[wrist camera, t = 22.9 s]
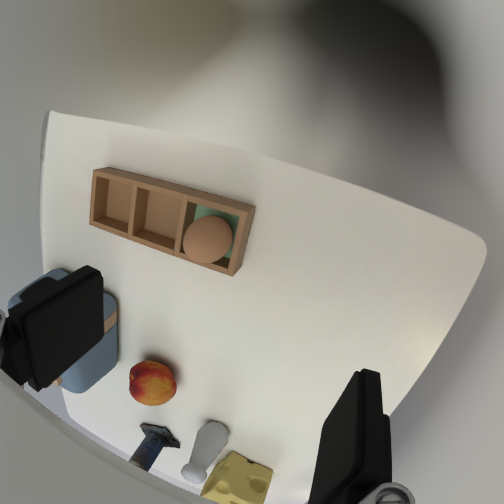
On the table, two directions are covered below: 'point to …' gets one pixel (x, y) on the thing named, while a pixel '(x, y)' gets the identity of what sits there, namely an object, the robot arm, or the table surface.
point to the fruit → (152, 383)
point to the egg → (207, 239)
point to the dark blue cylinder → (152, 446)
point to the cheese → (237, 481)
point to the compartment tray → (164, 214)
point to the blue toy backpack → (95, 359)
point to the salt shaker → (205, 451)
